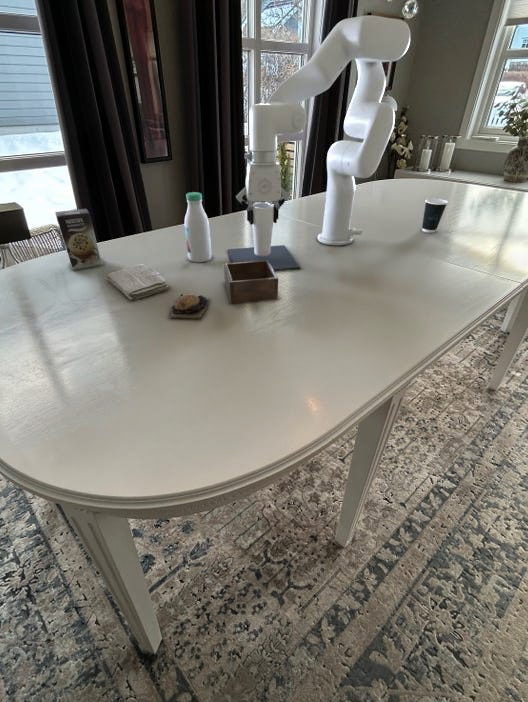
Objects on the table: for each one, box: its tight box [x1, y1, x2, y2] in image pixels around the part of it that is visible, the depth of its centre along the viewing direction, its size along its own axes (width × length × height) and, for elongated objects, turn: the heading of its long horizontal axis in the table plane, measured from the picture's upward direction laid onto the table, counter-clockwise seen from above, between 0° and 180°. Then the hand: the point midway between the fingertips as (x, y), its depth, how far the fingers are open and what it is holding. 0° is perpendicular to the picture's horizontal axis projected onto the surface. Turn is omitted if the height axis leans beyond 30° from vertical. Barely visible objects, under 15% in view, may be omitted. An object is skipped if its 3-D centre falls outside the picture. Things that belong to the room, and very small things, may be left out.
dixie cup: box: [421, 198, 449, 234], centre depth 140 cm, size 8×8×11 cm
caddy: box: [223, 260, 279, 304], centre depth 100 cm, size 13×13×6 cm
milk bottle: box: [184, 191, 212, 263], centre depth 115 cm, size 8×8×20 cm
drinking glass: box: [251, 202, 274, 256], centre depth 115 cm, size 7×7×15 cm
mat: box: [227, 244, 301, 272], centre depth 120 cm, size 20×20×1 cm
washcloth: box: [106, 263, 169, 302], centre depth 104 cm, size 12×18×3 cm, turn 39°
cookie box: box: [54, 208, 103, 271], centre depth 113 cm, size 9×6×16 cm
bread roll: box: [170, 293, 208, 320], centre depth 93 cm, size 11×8×4 cm
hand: (262, 222), depth 113 cm, fingers closed on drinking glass, 6 cm apart
